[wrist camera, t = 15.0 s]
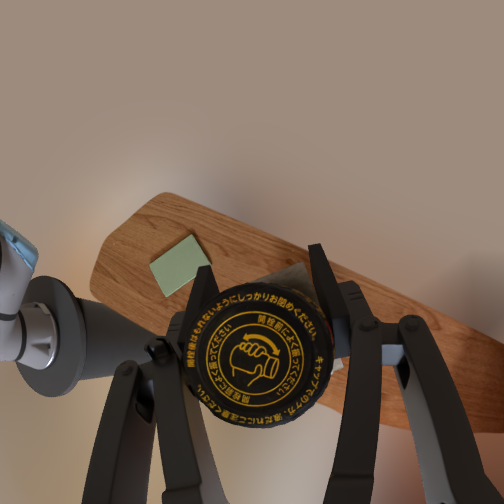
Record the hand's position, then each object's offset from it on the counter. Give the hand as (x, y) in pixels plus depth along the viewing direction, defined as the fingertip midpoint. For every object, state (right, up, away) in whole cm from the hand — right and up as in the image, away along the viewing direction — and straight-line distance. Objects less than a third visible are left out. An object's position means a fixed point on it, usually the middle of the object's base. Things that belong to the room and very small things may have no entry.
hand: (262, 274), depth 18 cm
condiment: (+1, -5, +3) cm, 5 cm away
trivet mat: (-14, -1, +33) cm, 36 cm away
